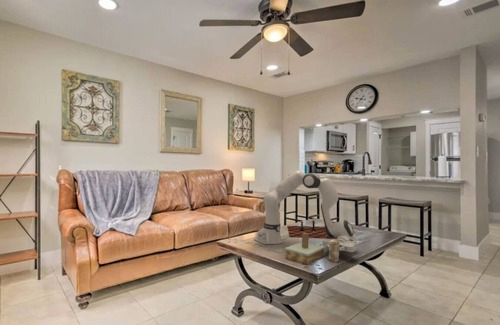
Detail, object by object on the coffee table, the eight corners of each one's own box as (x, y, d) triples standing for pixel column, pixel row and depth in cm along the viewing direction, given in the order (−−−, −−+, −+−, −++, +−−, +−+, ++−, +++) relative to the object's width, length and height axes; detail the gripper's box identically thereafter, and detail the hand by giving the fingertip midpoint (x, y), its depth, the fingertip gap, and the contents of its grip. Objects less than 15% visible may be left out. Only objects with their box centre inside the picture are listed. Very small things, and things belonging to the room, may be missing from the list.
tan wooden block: (328, 259, 170) (329, 241, 169) (331, 258, 173) (332, 239, 173) (335, 262, 166) (336, 242, 166) (338, 260, 170) (339, 241, 170)
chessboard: (329, 227, 257) (329, 216, 257) (339, 239, 217) (339, 226, 217) (287, 226, 261) (287, 215, 261) (289, 238, 221) (289, 224, 221)
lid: (285, 249, 172) (285, 234, 172) (302, 243, 188) (302, 228, 188) (308, 256, 161) (308, 239, 161) (324, 248, 176) (325, 233, 176)
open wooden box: (286, 257, 173) (286, 250, 173) (302, 250, 187) (302, 243, 187) (307, 264, 162) (308, 256, 162) (323, 256, 176) (323, 248, 176)
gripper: (328, 235, 186) (318, 239, 176) (357, 241, 172) (349, 246, 162) (328, 244, 186) (318, 249, 176) (357, 251, 172) (349, 256, 162)
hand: (333, 247), depth 169 cm, fingers open, 6 cm apart
